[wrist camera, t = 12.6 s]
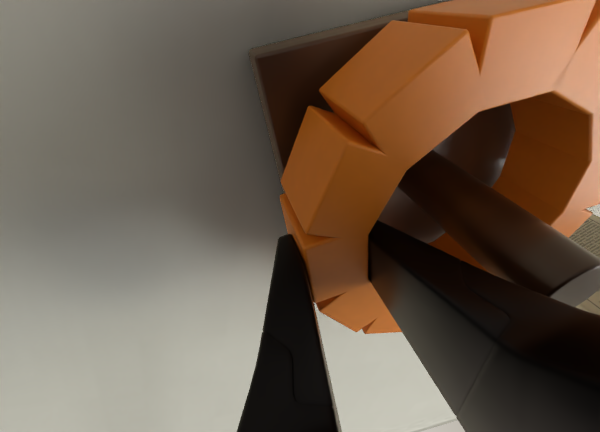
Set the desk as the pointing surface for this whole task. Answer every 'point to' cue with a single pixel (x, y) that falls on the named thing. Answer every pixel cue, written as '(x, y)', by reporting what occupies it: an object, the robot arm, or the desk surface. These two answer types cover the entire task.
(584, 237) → the box
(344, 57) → the brown peg stand
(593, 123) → the orange ring
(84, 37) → the desk surface
